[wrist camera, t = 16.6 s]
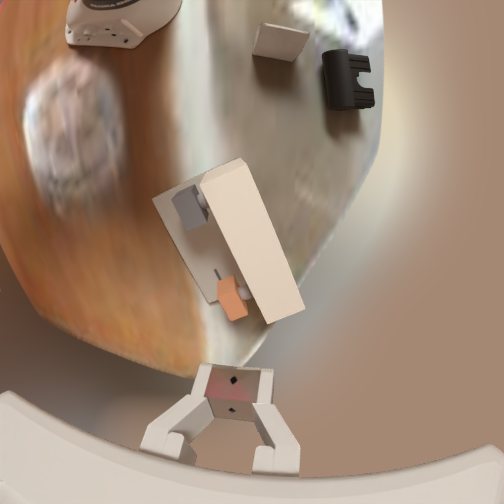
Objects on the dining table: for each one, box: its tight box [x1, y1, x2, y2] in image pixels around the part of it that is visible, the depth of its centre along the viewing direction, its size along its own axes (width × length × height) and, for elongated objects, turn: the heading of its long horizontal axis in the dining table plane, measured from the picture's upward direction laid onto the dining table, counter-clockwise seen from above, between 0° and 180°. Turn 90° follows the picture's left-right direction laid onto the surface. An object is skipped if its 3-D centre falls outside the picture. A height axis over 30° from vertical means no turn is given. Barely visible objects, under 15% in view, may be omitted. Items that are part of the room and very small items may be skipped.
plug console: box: [152, 157, 305, 324], centre depth 43 cm, size 16×22×14 cm
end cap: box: [322, 49, 375, 110], centre depth 38 cm, size 10×7×7 cm
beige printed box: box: [252, 23, 310, 62], centre depth 33 cm, size 4×7×10 cm, turn 82°
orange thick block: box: [217, 275, 252, 321], centre depth 45 cm, size 4×5×5 cm
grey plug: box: [171, 184, 210, 232], centre depth 39 cm, size 4×5×5 cm
